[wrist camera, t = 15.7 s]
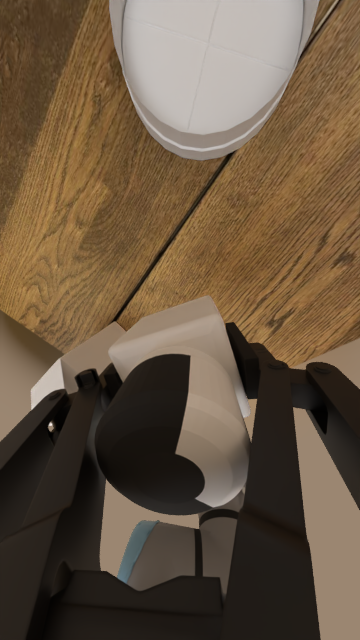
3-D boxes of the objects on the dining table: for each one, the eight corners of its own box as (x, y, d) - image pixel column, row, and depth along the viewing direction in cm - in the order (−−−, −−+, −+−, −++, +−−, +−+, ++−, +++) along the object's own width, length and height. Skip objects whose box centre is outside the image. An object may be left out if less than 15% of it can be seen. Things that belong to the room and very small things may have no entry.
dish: (146, -112, 19) (129, -237, 14) (335, -49, 19) (380, -152, 15) (112, 135, 26) (93, 106, 21) (252, 180, 26) (265, 161, 21)
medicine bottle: (166, 377, 19) (120, 548, 7) (140, 317, 17) (26, 419, 6) (231, 359, 18) (297, 534, 6) (210, 293, 16) (248, 362, 4)
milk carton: (94, 342, 37) (-4, 415, 18) (115, 320, 35) (28, 378, 17) (119, 364, 38) (50, 454, 20) (141, 344, 36) (85, 423, 18)
